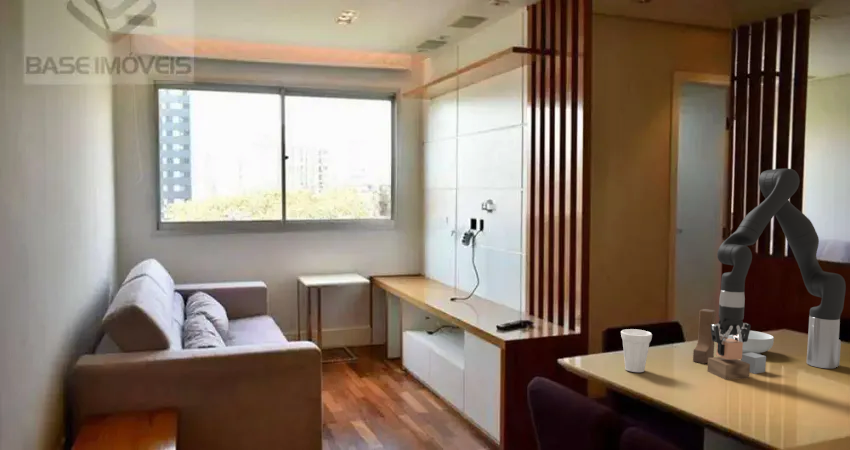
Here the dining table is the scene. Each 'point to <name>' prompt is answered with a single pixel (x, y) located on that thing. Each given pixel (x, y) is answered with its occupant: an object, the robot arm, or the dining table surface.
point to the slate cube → (755, 362)
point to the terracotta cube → (732, 349)
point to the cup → (635, 348)
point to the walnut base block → (728, 368)
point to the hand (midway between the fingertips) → (729, 354)
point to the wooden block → (705, 337)
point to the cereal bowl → (756, 342)
